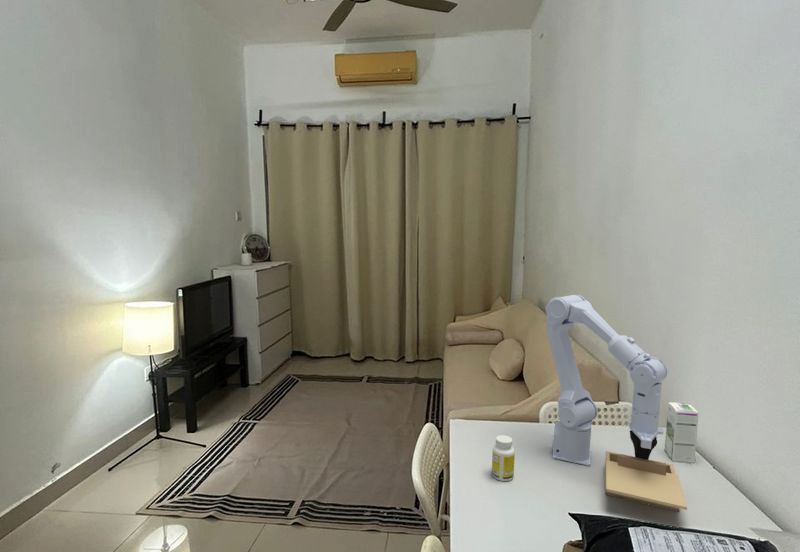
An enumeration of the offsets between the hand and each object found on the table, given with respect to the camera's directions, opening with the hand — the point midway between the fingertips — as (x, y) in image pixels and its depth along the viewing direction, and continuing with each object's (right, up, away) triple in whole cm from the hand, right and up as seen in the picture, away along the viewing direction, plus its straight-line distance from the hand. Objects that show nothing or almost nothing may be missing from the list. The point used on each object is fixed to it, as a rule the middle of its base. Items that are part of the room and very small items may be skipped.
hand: (640, 463), depth 109 cm
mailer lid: (-3, -2, -6) cm, 7 cm away
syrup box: (+18, -5, +15) cm, 24 cm away
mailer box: (0, -6, 0) cm, 6 cm away
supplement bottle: (-32, -5, +5) cm, 33 cm away
